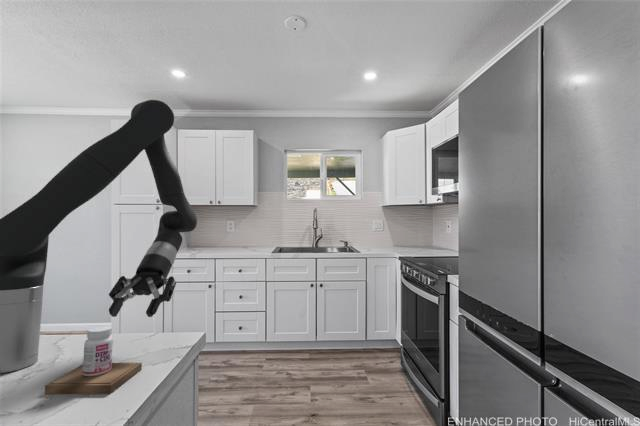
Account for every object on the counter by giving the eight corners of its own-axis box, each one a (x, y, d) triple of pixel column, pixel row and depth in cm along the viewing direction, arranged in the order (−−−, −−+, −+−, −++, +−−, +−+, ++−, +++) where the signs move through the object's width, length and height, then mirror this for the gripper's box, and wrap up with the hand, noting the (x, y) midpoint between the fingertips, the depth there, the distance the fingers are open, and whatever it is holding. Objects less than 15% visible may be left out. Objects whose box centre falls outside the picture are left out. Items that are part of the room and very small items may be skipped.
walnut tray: (44, 393, 56) (45, 384, 56) (85, 369, 66) (85, 362, 66) (110, 393, 56) (111, 384, 56) (141, 369, 66) (141, 361, 66)
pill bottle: (96, 378, 58) (99, 332, 59) (75, 376, 59) (78, 331, 60) (117, 367, 63) (119, 326, 64) (97, 365, 64) (100, 324, 65)
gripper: (126, 252, 81) (92, 306, 69) (180, 252, 81) (155, 306, 69) (137, 270, 86) (107, 323, 74) (187, 270, 86) (166, 323, 74)
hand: (130, 315), depth 72 cm, fingers open, 8 cm apart
